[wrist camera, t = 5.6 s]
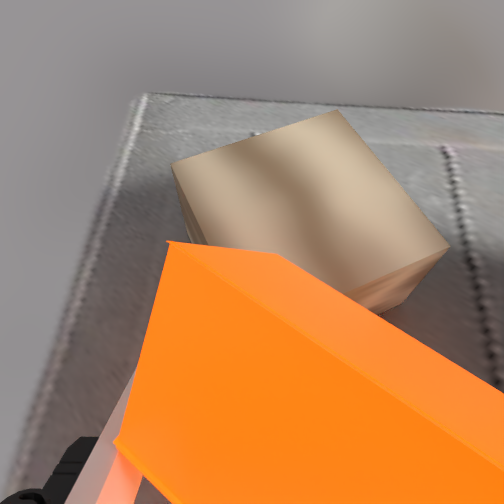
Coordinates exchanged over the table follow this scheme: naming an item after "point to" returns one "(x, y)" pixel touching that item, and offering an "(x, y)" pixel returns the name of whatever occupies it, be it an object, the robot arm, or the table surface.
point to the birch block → (312, 209)
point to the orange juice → (299, 396)
